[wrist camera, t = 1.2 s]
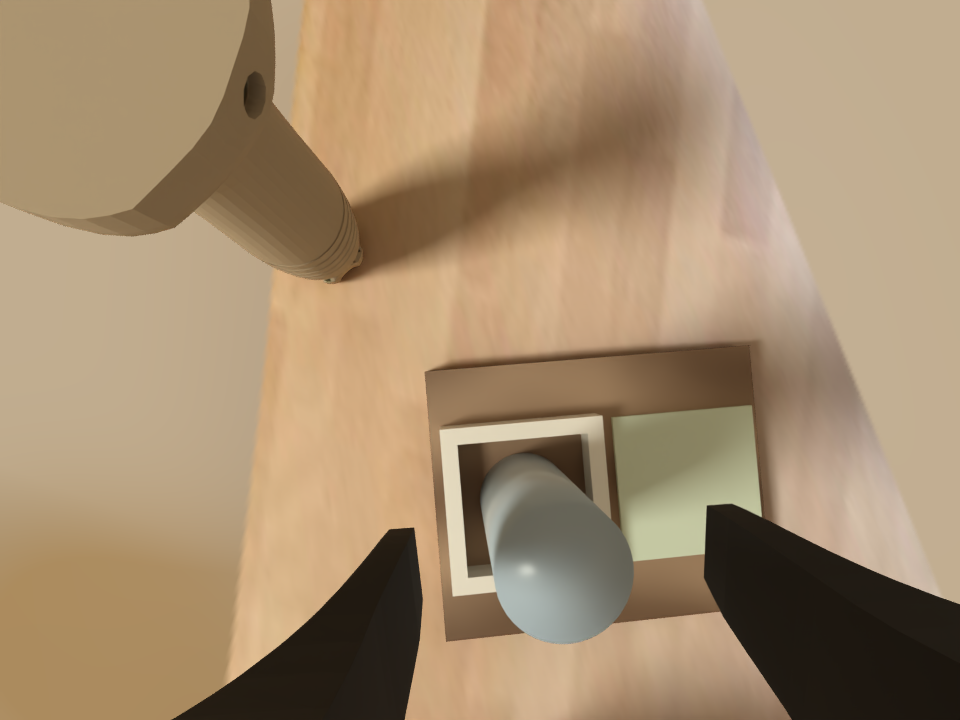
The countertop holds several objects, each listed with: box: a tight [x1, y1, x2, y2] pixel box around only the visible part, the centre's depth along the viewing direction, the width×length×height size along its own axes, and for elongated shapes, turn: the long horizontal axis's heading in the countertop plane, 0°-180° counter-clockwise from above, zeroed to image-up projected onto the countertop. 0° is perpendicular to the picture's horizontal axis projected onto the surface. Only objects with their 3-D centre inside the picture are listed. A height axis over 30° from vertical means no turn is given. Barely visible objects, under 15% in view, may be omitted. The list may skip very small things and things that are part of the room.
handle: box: [0, 0, 363, 284], centre depth 15 cm, size 5×6×15 cm
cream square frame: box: [439, 413, 611, 596], centre depth 21 cm, size 7×7×1 cm
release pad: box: [611, 405, 762, 561], centre depth 22 cm, size 6×6×1 cm
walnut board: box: [425, 345, 765, 642], centre depth 22 cm, size 12×15×1 cm
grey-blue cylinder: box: [480, 453, 634, 644], centre depth 18 cm, size 4×4×8 cm
